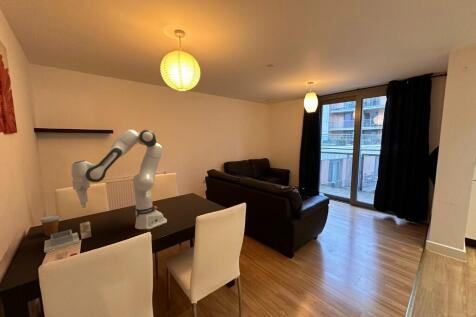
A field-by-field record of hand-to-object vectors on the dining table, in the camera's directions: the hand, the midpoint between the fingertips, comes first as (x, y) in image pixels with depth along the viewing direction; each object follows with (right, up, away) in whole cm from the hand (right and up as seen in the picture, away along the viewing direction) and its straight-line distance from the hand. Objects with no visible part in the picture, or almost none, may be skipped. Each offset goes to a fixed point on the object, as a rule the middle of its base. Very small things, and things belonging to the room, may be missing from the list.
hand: (83, 205), depth 131 cm
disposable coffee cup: (-27, -21, +7) cm, 35 cm away
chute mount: (-9, -22, -6) cm, 24 cm away
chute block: (0, -21, +2) cm, 21 cm away
